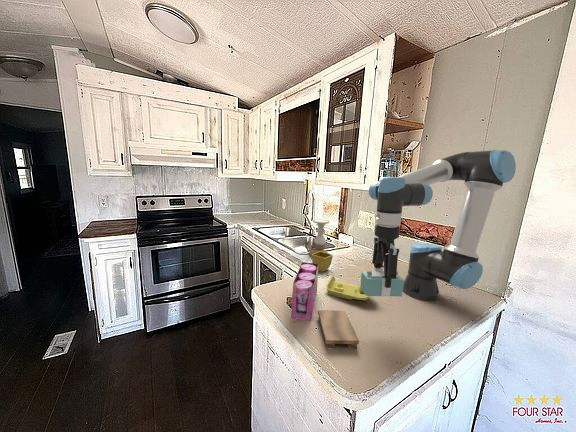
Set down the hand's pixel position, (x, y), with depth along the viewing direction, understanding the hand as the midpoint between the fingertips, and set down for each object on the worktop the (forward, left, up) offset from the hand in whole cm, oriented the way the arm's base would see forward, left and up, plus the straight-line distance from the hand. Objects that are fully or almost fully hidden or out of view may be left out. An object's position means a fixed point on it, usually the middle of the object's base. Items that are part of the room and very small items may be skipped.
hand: (381, 290), depth 82 cm
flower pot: (+11, -50, -14) cm, 53 cm away
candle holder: (+9, -71, -14) cm, 73 cm away
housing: (0, 0, -1) cm, 1 cm away
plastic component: (+4, -22, -14) cm, 26 cm away
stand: (+15, +3, -14) cm, 21 cm away
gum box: (+24, -14, -14) cm, 32 cm away
